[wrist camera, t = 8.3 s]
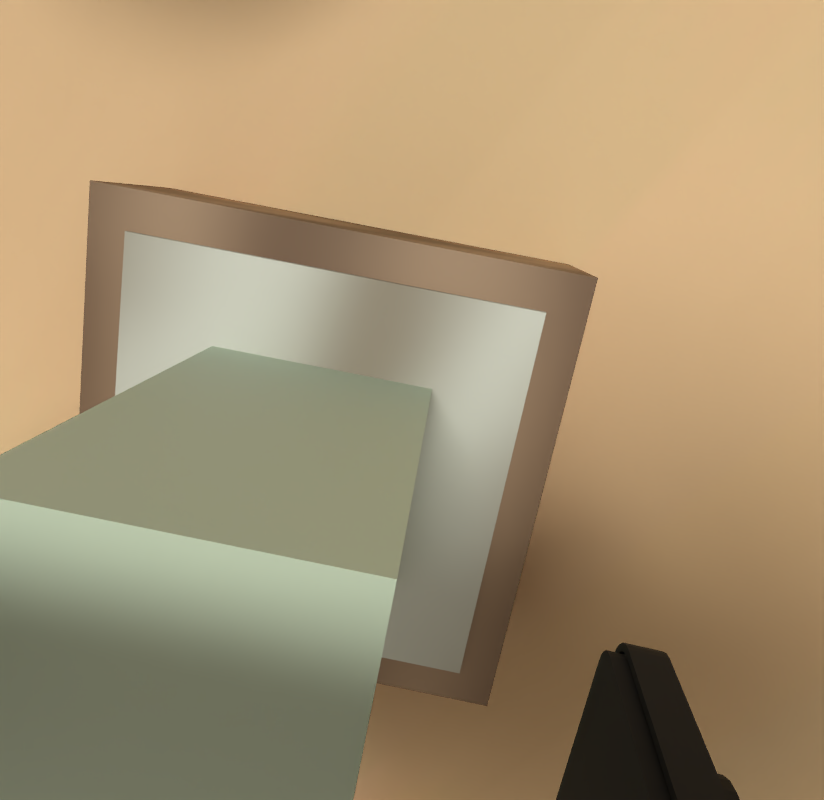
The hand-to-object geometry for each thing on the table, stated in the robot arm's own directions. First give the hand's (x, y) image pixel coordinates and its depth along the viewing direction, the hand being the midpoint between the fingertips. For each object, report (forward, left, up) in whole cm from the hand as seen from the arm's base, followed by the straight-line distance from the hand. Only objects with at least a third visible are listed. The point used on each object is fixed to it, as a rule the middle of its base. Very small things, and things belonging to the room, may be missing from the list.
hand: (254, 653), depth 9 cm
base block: (+1, 0, -11) cm, 11 cm away
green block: (+1, 0, -7) cm, 7 cm away
